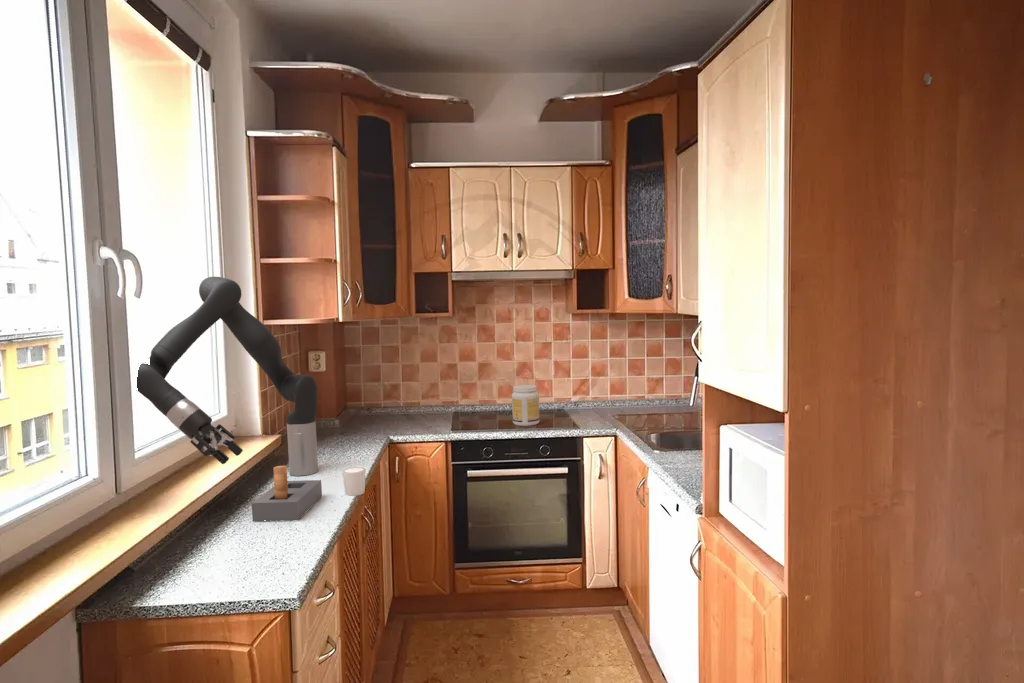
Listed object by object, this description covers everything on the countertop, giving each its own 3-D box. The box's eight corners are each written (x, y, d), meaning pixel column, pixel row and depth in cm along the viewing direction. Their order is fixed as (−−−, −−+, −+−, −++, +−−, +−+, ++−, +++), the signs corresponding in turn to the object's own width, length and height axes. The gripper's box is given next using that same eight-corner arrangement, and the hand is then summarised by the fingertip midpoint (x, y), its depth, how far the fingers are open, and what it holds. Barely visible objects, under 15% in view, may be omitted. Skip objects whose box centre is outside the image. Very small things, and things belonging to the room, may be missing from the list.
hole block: (281, 497, 188) (280, 481, 188) (322, 496, 188) (321, 480, 187) (252, 521, 168) (251, 503, 168) (297, 520, 168) (296, 502, 167)
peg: (278, 508, 175) (276, 465, 174) (290, 508, 174) (288, 465, 174) (273, 512, 171) (271, 468, 171) (285, 512, 171) (283, 468, 170)
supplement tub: (539, 420, 292) (538, 384, 290) (540, 426, 279) (539, 387, 278) (512, 421, 292) (511, 384, 291) (512, 426, 280) (511, 388, 279)
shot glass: (342, 491, 192) (340, 468, 192) (365, 488, 195) (364, 465, 194) (344, 497, 186) (343, 474, 185) (368, 494, 188) (367, 471, 188)
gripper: (184, 413, 168) (230, 454, 169) (210, 403, 182) (253, 441, 183) (166, 434, 169) (212, 474, 169) (193, 422, 183) (236, 460, 184)
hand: (233, 457), depth 176 cm, fingers open, 8 cm apart
